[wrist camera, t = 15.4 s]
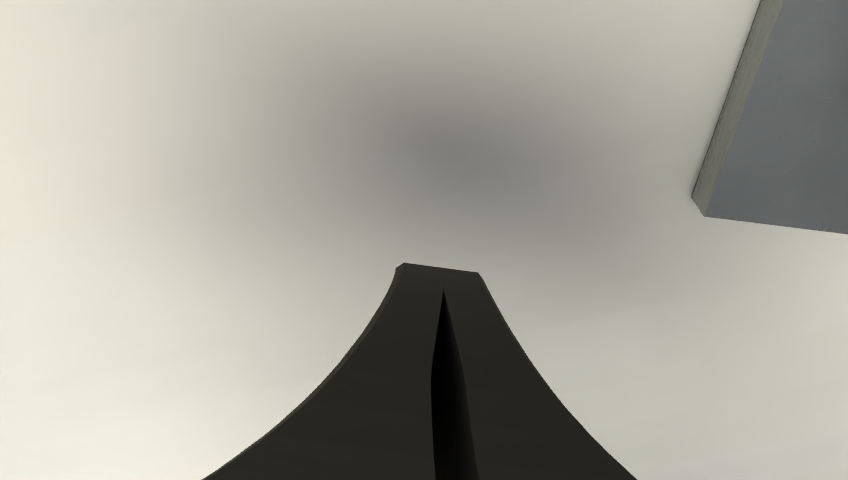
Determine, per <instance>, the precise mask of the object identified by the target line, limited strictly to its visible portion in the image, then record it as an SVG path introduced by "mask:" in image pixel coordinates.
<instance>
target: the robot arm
mask: <svg viewBox="0 0 848 480" xmlns="http://www.w3.org/2000/svg"><path fill="white" fill-rule="evenodd" d="M202 480H637V479H636V478H635V477H634V476H633V475H631V474H630V473H629V472H628V471H627V470H626V469H625V468H624V467H623V466H622V465H621V464H620V463H619V462H617V461H616V460H615V459H614V458H613V457H612V456H611V455H610V454H609V453H608V452H607V451H606V450H605V449H604V448H603V447H602V446H601V445H600V444H599V443H598V442H597V441H596V440H595V439H594V438H593V437H592V436H591V435H590V434H589V433H588V432H587V431H586V430H585V429H584V428H583V426H582V425H581V424H580V423H579V422H578V421H577V420H576V419H575V418H574V416H573V415H572V414H571V413H570V412H569V411H568V410H567V409H566V408H565V406H564V405H563V404H562V403H561V401H560V400H559V399H558V398H557V396H556V395H555V394H554V393H553V391H552V390H551V389H550V387H549V386H548V385H547V383H546V382H545V380H544V379H543V378H542V376H541V375H540V374H539V372H538V371H537V370H536V368H535V367H534V365H533V364H532V362H531V361H530V359H529V358H528V356H527V355H526V353H525V352H524V350H523V349H522V347H521V345H520V344H519V342H518V341H517V339H516V338H515V336H514V335H513V333H512V331H511V330H510V328H509V326H508V325H507V323H506V321H505V320H504V318H503V316H502V314H501V313H500V311H499V309H498V307H497V305H496V303H495V302H494V300H493V298H492V296H491V294H490V292H489V290H488V288H487V286H486V284H485V282H484V280H483V279H482V277H481V276H480V275H479V273H477V272H469V271H462V270H454V269H447V268H439V267H432V266H424V265H417V264H409V263H403V264H401V265H400V266H398V267H397V268H396V271H395V275H394V278H393V281H392V283H391V286H390V288H389V290H388V292H387V294H386V296H385V298H384V299H383V301H382V303H381V305H380V307H379V308H378V310H377V311H376V313H375V314H374V316H373V318H372V319H371V321H370V322H369V324H368V325H367V327H366V328H365V330H364V331H363V333H362V334H361V336H360V337H359V338H358V339H357V341H356V342H355V343H354V345H353V346H352V347H351V348H350V350H349V351H348V352H347V354H346V355H345V356H344V357H343V359H342V360H341V361H340V363H339V364H338V365H337V366H336V367H335V368H334V369H333V371H332V372H331V373H330V374H329V375H328V376H327V377H326V378H325V380H324V381H323V382H322V383H321V384H320V385H319V386H318V387H317V388H316V389H315V390H314V391H313V392H312V393H311V394H310V395H309V396H308V397H307V398H306V399H305V400H304V401H303V402H302V403H301V404H300V405H299V406H297V407H296V408H295V409H294V410H293V411H292V412H291V413H290V414H289V415H288V416H286V417H285V418H284V419H283V420H282V421H281V422H280V423H279V424H277V425H276V426H275V427H274V428H273V429H271V430H270V431H269V432H268V433H267V434H265V435H264V436H263V437H262V438H260V439H259V440H258V441H256V442H255V443H253V444H252V445H251V446H249V447H248V448H247V449H245V450H244V451H243V452H241V453H240V454H238V455H237V456H236V457H234V458H233V459H232V460H230V461H229V462H227V463H226V464H225V465H223V466H222V467H221V468H219V469H218V470H216V471H215V472H213V473H212V474H210V475H209V476H207V477H206V478H204V479H202Z"/></svg>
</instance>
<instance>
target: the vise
mask: <svg viewBox="0 0 848 480" xmlns="http://www.w3.org/2000/svg"><path fill="white" fill-rule="evenodd" d="M692 199H693V200H694V202H695V203H696V205H697V206H698V208H699V210H700V211H701V213H702V214H703V216H705V217H713V218H721V219H729V220H737V221H745V222H754V223H762V224H770V225H778V226H786V227H794V228H802V229H810V230H818V231H826V232H835V233H843V234H848V0H761V3H760V6H759V8H758V11H757V14H756V17H755V20H754V22H753V25H752V28H751V31H750V34H749V37H748V39H747V42H746V45H745V48H744V51H743V53H742V56H741V59H740V62H739V65H738V68H737V70H736V73H735V76H734V79H733V82H732V84H731V87H730V90H729V93H728V96H727V99H726V101H725V104H724V107H723V110H722V113H721V115H720V118H719V121H718V124H717V127H716V130H715V132H714V135H713V138H712V141H711V144H710V146H709V149H708V152H707V155H706V158H705V161H704V163H703V166H702V169H701V172H700V175H699V177H698V180H697V183H696V186H695V189H694V192H693V194H692Z"/></svg>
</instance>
